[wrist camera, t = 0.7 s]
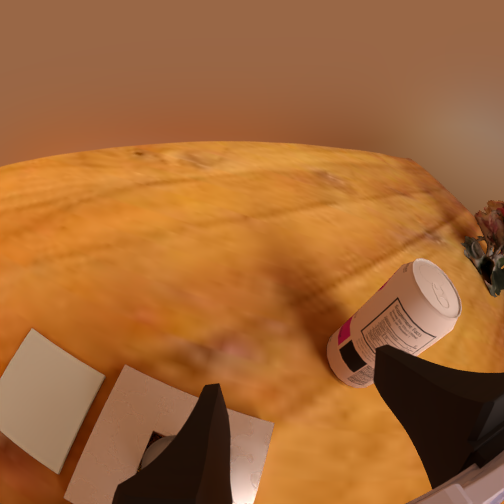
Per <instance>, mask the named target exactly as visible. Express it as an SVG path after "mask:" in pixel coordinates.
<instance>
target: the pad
mask: <svg viewBox="0 0 504 504" xmlns="http://www.w3.org/2000/svg"><path fill="white" fill-rule="evenodd" d="M104 379H105V375H103V374H102V373H100V372H98V371H96V370H95V369H93V368H91V367H90V366H88V365H86V364H85V363H83V362H81V361H80V360H78V359H76V358H75V357H73V356H72V355H70V354H69V353H67V352H65V351H64V350H62V349H61V348H59V347H58V346H56V345H55V344H54V343H52V342H51V341H49V340H48V339H46V338H45V337H44V336H42V335H41V334H39V333H38V332H37V331H35V330H34V329H33V328H32V329H31V330H30V332H29V333H28V335H27V336H26V338H25V339H24V341H23V342H22V344H21V345H20V347H19V349H18V350H17V352H16V353H15V355H14V357H13V358H12V360H11V361H10V363H9V365H8V366H7V368H6V370H5V371H4V373H3V375H2V377H1V378H0V431H1V432H2V433H3V434H5V435H6V436H7V437H8V438H9V439H10V440H12V441H13V442H14V443H15V444H17V445H18V446H19V447H20V448H22V449H23V450H24V451H25V452H27V453H28V454H29V455H31V456H32V457H33V458H35V459H36V460H38V461H39V462H40V463H42V464H43V465H45V466H46V467H48V468H49V469H51V470H52V471H54V472H55V473H57V474H60V471H61V469H62V467H63V464H64V462H65V460H66V458H67V455H68V453H69V451H70V449H71V446H72V444H73V442H74V440H75V438H76V435H77V433H78V431H79V429H80V427H81V425H82V423H83V421H84V419H85V417H86V415H87V412H88V410H89V408H90V406H91V404H92V402H93V400H94V398H95V396H96V395H97V393H98V391H99V389H100V387H101V385H102V383H103V381H104Z"/></svg>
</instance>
